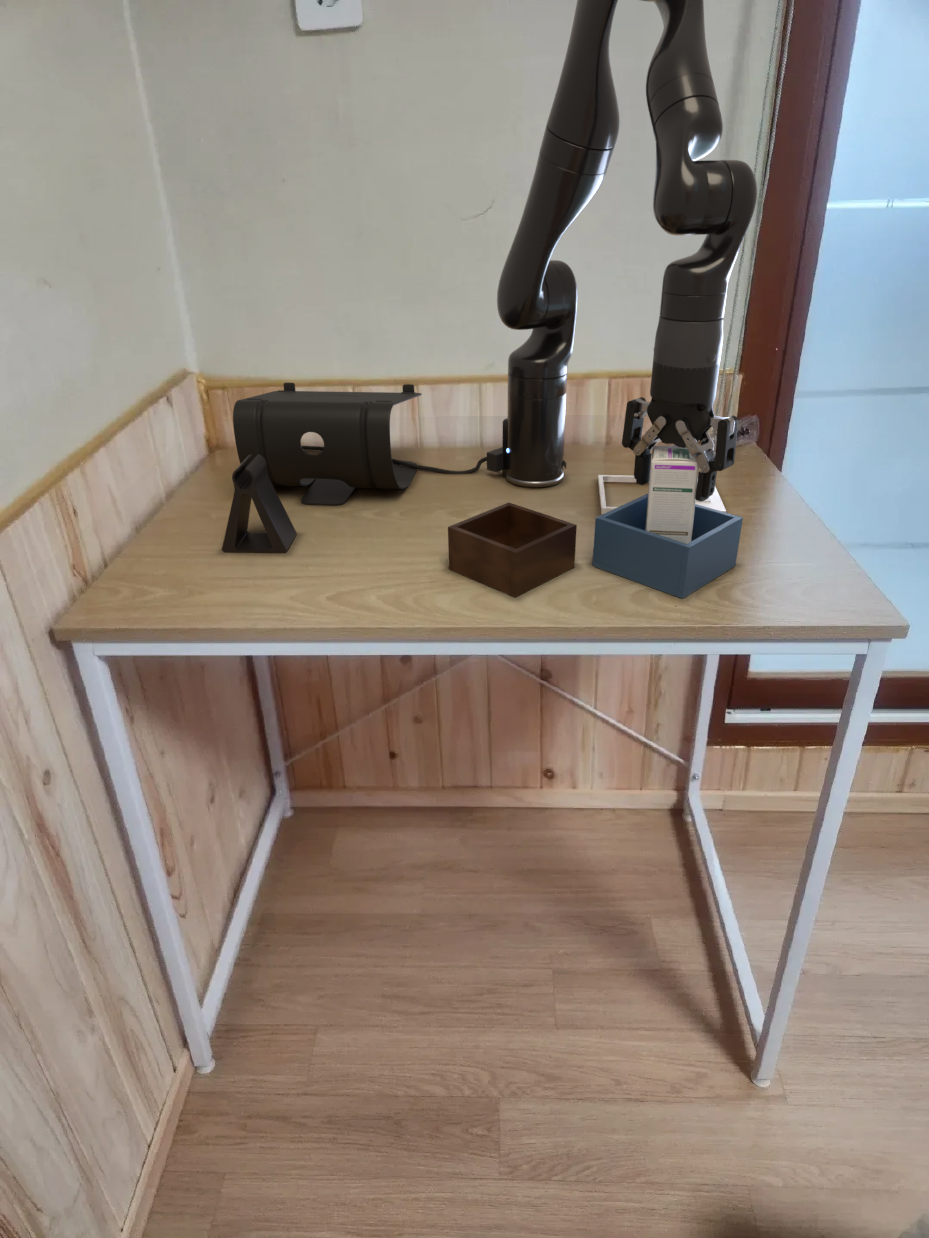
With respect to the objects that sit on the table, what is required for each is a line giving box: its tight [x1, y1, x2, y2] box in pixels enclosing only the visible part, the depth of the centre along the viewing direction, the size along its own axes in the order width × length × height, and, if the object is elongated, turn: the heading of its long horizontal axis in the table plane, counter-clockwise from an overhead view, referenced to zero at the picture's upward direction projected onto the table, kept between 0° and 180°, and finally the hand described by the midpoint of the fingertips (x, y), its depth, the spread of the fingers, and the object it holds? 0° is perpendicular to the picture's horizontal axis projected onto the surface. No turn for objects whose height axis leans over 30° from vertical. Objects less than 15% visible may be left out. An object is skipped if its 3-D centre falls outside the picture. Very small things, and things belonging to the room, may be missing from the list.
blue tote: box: [591, 493, 744, 600], centre depth 108 cm, size 14×13×7 cm
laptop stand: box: [232, 382, 422, 506], centre depth 136 cm, size 26×24×16 cm
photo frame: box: [597, 474, 727, 515], centre depth 131 cm, size 15×1×18 cm
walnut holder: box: [447, 502, 578, 598], centre depth 108 cm, size 12×12×6 cm
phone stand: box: [221, 454, 298, 554], centre depth 115 cm, size 9×6×12 cm, turn 86°
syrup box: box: [645, 444, 700, 544], centre depth 106 cm, size 6×6×14 cm
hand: (671, 491), depth 105 cm, fingers open, 8 cm apart
